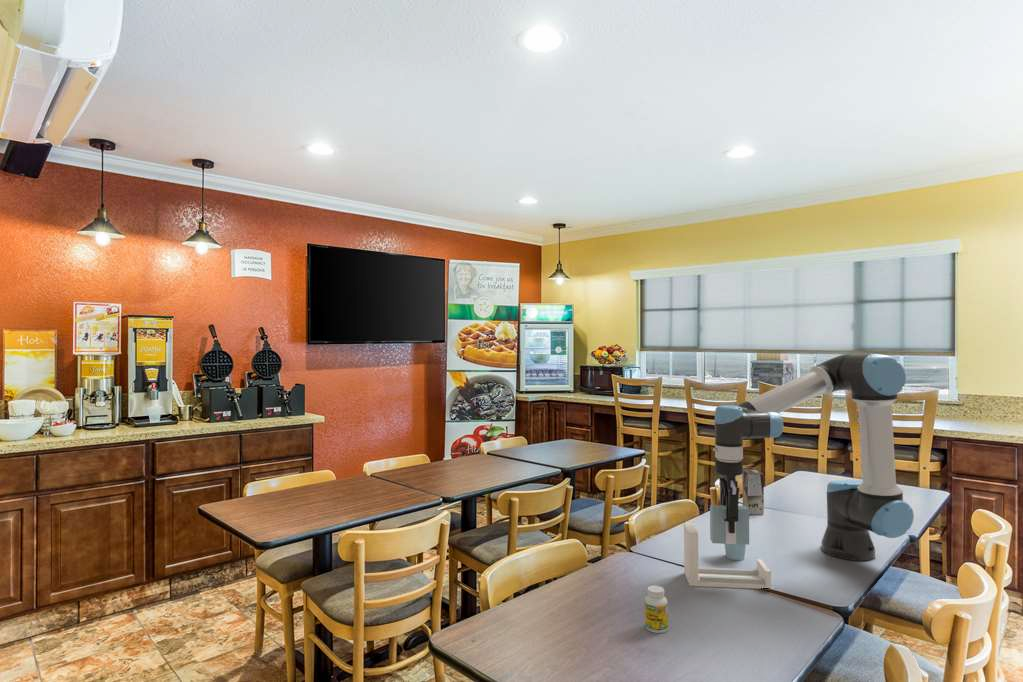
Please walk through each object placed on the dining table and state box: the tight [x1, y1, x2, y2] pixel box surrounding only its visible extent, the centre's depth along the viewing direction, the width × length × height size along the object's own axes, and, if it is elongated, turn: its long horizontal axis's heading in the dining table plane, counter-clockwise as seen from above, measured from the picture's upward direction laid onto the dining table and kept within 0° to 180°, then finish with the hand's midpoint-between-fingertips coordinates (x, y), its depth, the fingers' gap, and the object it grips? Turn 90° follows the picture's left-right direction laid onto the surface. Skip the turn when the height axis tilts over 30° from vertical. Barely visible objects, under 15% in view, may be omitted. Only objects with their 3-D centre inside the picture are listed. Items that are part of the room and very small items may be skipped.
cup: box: [724, 544, 747, 561], centre depth 187 cm, size 8×8×10 cm
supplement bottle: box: [644, 585, 669, 634], centre depth 142 cm, size 5×5×10 cm
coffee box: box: [741, 468, 765, 516], centre depth 235 cm, size 9×6×16 cm
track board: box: [683, 522, 772, 590], centre depth 169 cm, size 22×9×15 cm, turn 82°
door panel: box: [709, 504, 750, 545], centre depth 169 cm, size 10×4×10 cm, turn 82°
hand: (729, 540), depth 169 cm, fingers closed on door panel, 3 cm apart
